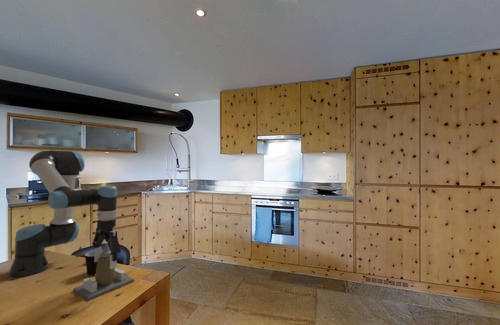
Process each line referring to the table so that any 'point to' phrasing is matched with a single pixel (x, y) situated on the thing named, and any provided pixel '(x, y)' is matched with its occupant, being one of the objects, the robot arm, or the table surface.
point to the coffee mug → (91, 263)
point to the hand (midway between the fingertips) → (105, 264)
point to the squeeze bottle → (104, 268)
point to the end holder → (93, 290)
